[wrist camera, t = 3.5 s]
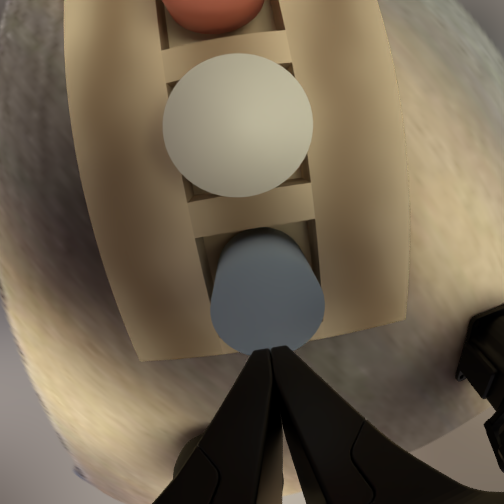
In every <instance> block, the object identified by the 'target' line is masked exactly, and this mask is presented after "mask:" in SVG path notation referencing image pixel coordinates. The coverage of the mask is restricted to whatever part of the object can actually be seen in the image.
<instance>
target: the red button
mask: <svg viewBox="0 0 504 504" xmlns="http://www.w3.org/2000/svg"><path fill="white" fill-rule="evenodd" d="M162 1H163V3H164V5H165V6H166V8H167V10H168V11H169V13H170V15H171V16H172V18H173V19H174V20H175V21H176V22H177V23H178V24H179V25H180V26H182V27H183V28H185V29H187V30H190V31H193V32H196V33H201V34H221V33H226V32H230V31H233V30H236V29H238V28H241V27H242V26H244V25H246V24H247V23H249V22H250V21H252V20H253V19H254V18H255V17H256V16H257V14H258V13H259V12H260V10H261V9H262V6H263V4H264V0H162Z"/></svg>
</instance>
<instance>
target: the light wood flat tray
mask: <svg viewBox="0 0 504 504" xmlns="http://www.w3.org/2000/svg"><path fill="white" fill-rule="evenodd" d="M64 53H65V71H66V84H67V94H68V103H69V112H70V119H71V127H72V133H73V140H74V146H75V152H76V157H77V162H78V168H79V173H80V177H81V182H82V187H83V191H84V196H85V200H86V204H87V208H88V212H89V216H90V220H91V224H92V228H93V231H94V235H95V238H96V242H97V245H98V249H99V252H100V255H101V259H102V262H103V265H104V268H105V271H106V274H107V277H108V280H109V283H110V286H111V289H112V292H113V295H114V298H115V301H116V303H117V306H118V309H119V311H120V314H121V317H122V319H123V322H124V324H125V327H126V330H127V332H128V334H129V337H130V339H131V342H132V344H133V347H134V349H135V351H136V354H137V356H138V358H139V360H140V362H142V361H158V360H171V359H183V358H194V357H203V356H213V355H221V354H229V353H237V352H239V351H237V350H235V349H233V348H232V347H230V346H229V345H227V344H226V343H225V342H224V341H223V340H222V339H221V338H220V336H219V335H218V334H217V332H216V330H215V328H214V326H213V323H212V320H211V315H210V305H211V299H212V293H213V287H214V282H215V276H216V271H217V266H218V260H219V257H220V254H221V252H222V250H223V248H224V247H225V245H226V244H227V243H228V242H229V241H230V240H231V239H232V238H233V237H234V236H236V235H237V234H239V233H241V232H243V231H245V230H248V229H253V228H259V227H268V228H274V229H277V230H280V231H282V232H284V233H286V234H287V235H289V236H290V237H291V238H292V239H294V241H295V242H296V243H297V244H298V246H299V247H300V249H301V251H302V252H303V254H304V256H305V258H306V260H307V262H308V264H309V265H310V267H311V269H312V271H313V273H314V275H315V277H316V278H317V280H318V282H319V284H320V286H321V288H322V291H323V294H324V300H325V311H324V316H323V319H322V322H321V324H320V326H319V328H318V330H317V331H316V333H315V334H314V335H313V336H312V338H311V339H309V340H308V341H312V340H318V339H323V338H328V337H333V336H337V335H342V334H347V333H351V332H356V331H360V330H365V329H369V328H373V327H378V326H382V325H386V324H390V323H394V322H397V321H401V320H405V319H406V309H407V297H408V283H409V263H410V196H409V176H408V162H407V151H406V141H405V132H404V124H403V116H402V109H401V102H400V96H399V90H398V84H397V79H396V74H395V69H394V64H393V59H392V55H391V50H390V46H389V42H388V38H387V34H386V30H385V26H384V22H383V19H382V15H381V12H380V8H379V5H378V2H377V0H264V4H263V6H262V9H261V10H260V12H259V13H258V14H257V16H256V17H255V18H254V19H253V20H252V21H250V22H249V23H247V24H246V25H244V26H242V27H241V28H238V29H236V30H233V31H230V32H226V33H221V34H201V33H196V32H193V31H190V30H187V29H185V28H183V27H182V26H180V25H179V24H178V23H177V22H176V21H175V20H174V19H173V18H172V16H171V15H170V13H169V11H168V10H167V8H166V6H165V5H164V3H163V1H162V0H64ZM234 53H242V54H252V55H257V56H260V57H264V58H266V59H269V60H271V61H273V62H275V63H277V64H278V65H280V66H282V67H283V68H284V69H286V70H287V71H288V72H290V73H291V74H292V76H293V77H294V78H295V79H296V80H297V81H298V82H299V84H300V85H301V86H302V88H303V90H304V92H305V93H306V95H307V98H308V100H309V103H310V106H311V110H312V116H313V134H312V139H311V143H310V146H309V149H308V152H307V154H306V156H305V158H304V160H303V161H302V163H301V164H300V166H299V167H298V169H297V170H296V171H295V172H294V173H293V174H292V175H291V176H290V177H289V178H288V179H287V180H286V181H284V182H283V183H281V184H280V185H278V186H277V187H275V188H273V189H271V190H269V191H267V192H264V193H261V194H258V195H254V196H249V197H226V196H220V195H216V194H213V193H210V192H207V191H205V190H203V189H201V188H199V187H198V186H196V185H194V184H193V183H191V182H190V181H189V180H188V179H186V178H185V177H184V176H183V175H182V174H181V173H180V172H179V170H178V169H177V168H176V166H175V165H174V164H173V162H172V160H171V158H170V156H169V154H168V152H167V149H166V146H165V142H164V138H163V115H164V110H165V106H166V103H167V100H168V98H169V96H170V94H171V92H172V90H173V89H174V87H175V86H176V84H177V83H178V82H179V81H180V79H181V78H182V77H183V76H184V75H185V74H186V73H187V72H188V71H190V70H191V69H192V68H194V67H195V66H197V65H198V64H200V63H202V62H204V61H206V60H208V59H211V58H213V57H216V56H221V55H225V54H234Z"/></svg>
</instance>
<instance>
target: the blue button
mask: <svg viewBox="0 0 504 504" xmlns="http://www.w3.org/2000/svg"><path fill="white" fill-rule="evenodd" d="M324 311H325V300H324V294H323V291H322V288H321V286H320V284H319V282H318V280H317V278H316V277H315V275H314V273H313V271H312V269H311V267H310V265H309V264H308V262H307V260H306V258H305V256H304V254H303V252H302V251H301V249H300V247H299V246H298V244H297V243H296V242H295V241H294V239H292V238H291V237H290V236H289V235H287V234H286V233H284V232H282V231H280V230H277V229H274V228H268V227H259V228H253V229H248V230H245V231H243V232H241V233H239V234H237V235H236V236H234V237H233V238H232V239H231V240H230V241H229V242H228V243H227V244H226V245H225V247H224V248H223V250H222V252H221V254H220V257H219V260H218V266H217V271H216V276H215V282H214V287H213V293H212V299H211V305H210V315H211V320H212V323H213V326H214V328H215V330H216V332H217V334H218V335H219V336H220V338H221V339H222V340H223V341H224V342H225V343H226V344H227V345H229V346H230V347H232V348H233V349H235V350H237V351H239V352H241V353H244V354H247V355H250V356H251V354H252V352H253V351H254V350H258V349H265V348H269V349H270V351H271V348H272V347H277V346H283V345H286V346H288V347H289V348H290V349H291V350H292V351H294V350H296V349H298V348H299V347H301V346H302V345H304V344H305V343H306V342H307V341H308V340H309V339H311V338H312V336H313V335H314V334H315V333H316V331H317V330H318V328H319V326H320V324H321V322H322V319H323V316H324Z"/></svg>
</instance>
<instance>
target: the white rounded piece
mask: <svg viewBox="0 0 504 504" xmlns="http://www.w3.org/2000/svg"><path fill="white" fill-rule="evenodd" d="M312 134H313V116H312V110H311V106H310V103H309V100H308V98H307V95H306V93H305V92H304V90H303V88H302V86H301V85H300V84H299V82H298V81H297V80H296V79H295V78H294V77H293V76H292V74H291V73H290V72H288V71H287V70H286V69H284V68H283V67H282V66H280V65H278V64H277V63H275V62H273V61H271V60H269V59H266V58H264V57H260V56H257V55H252V54H242V53H234V54H225V55H221V56H216V57H213V58H211V59H208V60H206V61H204V62H202V63H200V64H198V65H197V66H195V67H194V68H192V69H191V70H190V71H188V72H187V73H186V74H185V75H184V76H183V77H182V78H181V79H180V81H179V82H178V83H177V84H176V86H175V87H174V89H173V90H172V92H171V94H170V96H169V98H168V100H167V103H166V106H165V110H164V115H163V138H164V142H165V146H166V149H167V152H168V154H169V156H170V158H171V160H172V162H173V164H174V165H175V166H176V168H177V169H178V170H179V172H180V173H181V174H182V175H183V176H184V177H185V178H186V179H188V180H189V181H190V182H191V183H193V184H194V185H196V186H198V187H199V188H201V189H203V190H205V191H207V192H210V193H213V194H216V195H220V196H226V197H249V196H254V195H258V194H261V193H264V192H267V191H269V190H271V189H273V188H275V187H277V186H278V185H280V184H281V183H283V182H284V181H286V180H287V179H288V178H289V177H290V176H291V175H292V174H293V173H294V172H295V171H296V170H297V169H298V167H299V166H300V164H301V163H302V161H303V160H304V158H305V156H306V154H307V152H308V149H309V146H310V143H311V139H312Z"/></svg>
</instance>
